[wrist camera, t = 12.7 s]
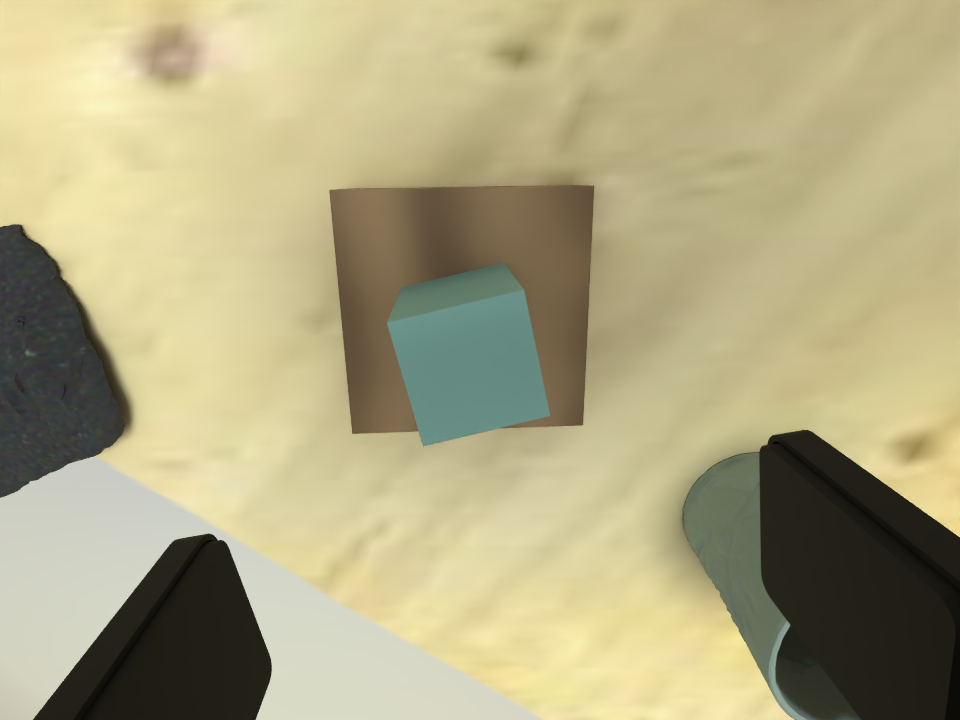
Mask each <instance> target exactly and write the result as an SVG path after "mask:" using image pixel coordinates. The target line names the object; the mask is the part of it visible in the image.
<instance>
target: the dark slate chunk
mask: <svg viewBox="0 0 960 720" xmlns="http://www.w3.org/2000/svg"><path fill="white" fill-rule="evenodd" d="M124 427H125V422H124V419H123V417H122V413H121V410H120V408H119V406H118V404H117V401H116V399H115V397H114V395H113V393H112V391H111V388H110V385H109V382H108V380H107V378H106V376H105V373H104V370H103V363H102V361H101V360H99V358H98V355H97V352H96V350H95V349H94V348H93V346H92V345H91V343H90V340H89V339H86V335H85V332H84V328H83V324H82V318H81V315H80V312H79V309H78V306H77V304H76V302H75V301H74V300H73V299H72V297H71V296H70V295H69V294H68V290H67V288H66V286H65V285H64V283H63V282H62V280H61V279H60V278H59V276H58V272H57V269H56V267H55V265H54V262H53V260H52V259H50V258H49V257H47V256H46V255H45V253H44V252H43V250H42V248H41V247H40V246H39V245H38V244H36V243H35V242H33V241H31V240H29V239H27V238H26V237H25V236H24V235H23V233H22V228H21V225H10V226H3V227H0V498H1V497H4V496H7V495H9V494H11V493H14V492H16V491H18V490H20V489H21V488H22V487H23V486H25V485H27V484H28V483H29V481H34V480H38V479H40V478H41V477H42V476H45V475H47V474H48V473H51V472H54V471H57V470H59V469H61V468H63V467H64V466H65V465H67V464H69V463H72V462H75V461H79V460H83V459H86V458H90V457H93V456H96V455H98V454H100V453H101V452H102V451H103V450H104V448H107V447H110V446H112V445H113V444H114V443H115V442H116V441H117V439H118V438H119V437H120V436H121V435H122V433H123V431H124Z"/></svg>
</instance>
